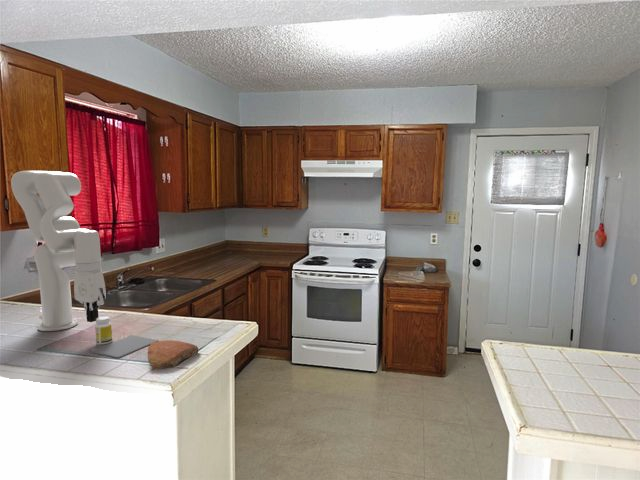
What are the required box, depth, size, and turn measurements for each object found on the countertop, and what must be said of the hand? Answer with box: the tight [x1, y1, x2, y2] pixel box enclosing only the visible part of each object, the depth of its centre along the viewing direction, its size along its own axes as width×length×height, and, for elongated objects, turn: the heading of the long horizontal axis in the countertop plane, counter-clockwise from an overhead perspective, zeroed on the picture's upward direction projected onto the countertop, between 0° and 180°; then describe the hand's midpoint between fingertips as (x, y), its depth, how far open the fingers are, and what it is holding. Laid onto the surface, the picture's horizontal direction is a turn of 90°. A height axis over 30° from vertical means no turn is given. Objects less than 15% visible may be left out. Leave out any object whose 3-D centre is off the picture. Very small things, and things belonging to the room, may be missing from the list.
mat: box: [89, 334, 159, 359], centre depth 136 cm, size 12×16×1 cm
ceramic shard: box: [147, 339, 199, 370], centre depth 125 cm, size 15×6×15 cm
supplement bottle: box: [94, 316, 113, 346], centre depth 139 cm, size 5×5×8 cm
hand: (92, 320), depth 141 cm, fingers closed
